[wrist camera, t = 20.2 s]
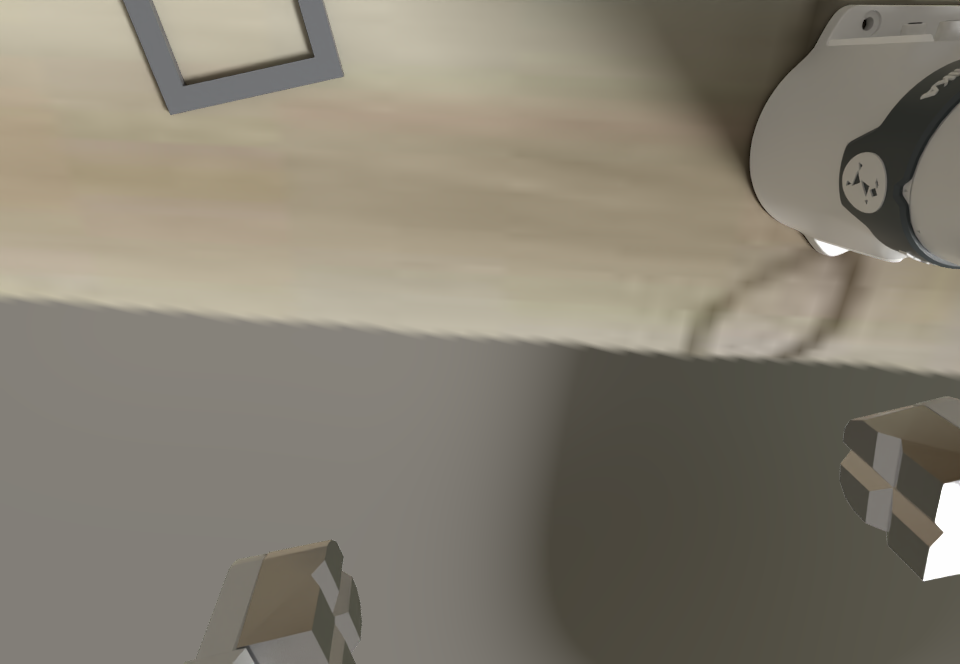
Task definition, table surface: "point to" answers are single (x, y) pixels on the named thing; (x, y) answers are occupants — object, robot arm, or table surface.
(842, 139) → the robot arm
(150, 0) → the holder frame
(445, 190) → the table surface
